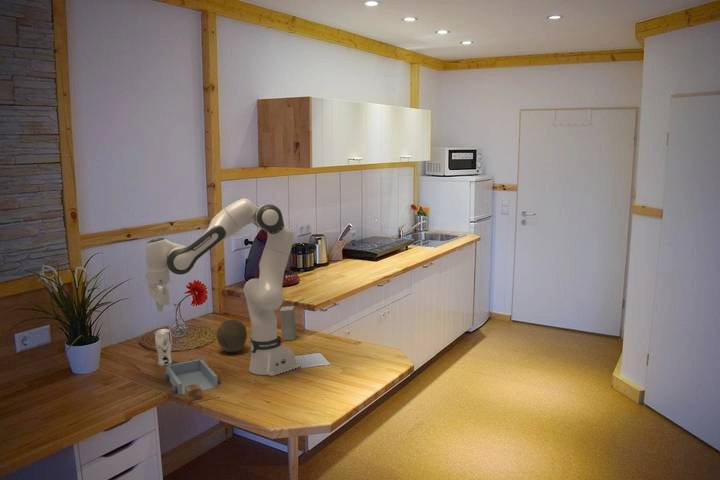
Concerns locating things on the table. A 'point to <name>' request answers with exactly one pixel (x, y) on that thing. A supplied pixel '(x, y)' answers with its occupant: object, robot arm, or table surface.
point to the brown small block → (193, 392)
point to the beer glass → (163, 346)
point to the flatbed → (190, 376)
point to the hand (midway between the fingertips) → (160, 310)
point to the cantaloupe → (232, 335)
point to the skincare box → (288, 323)
